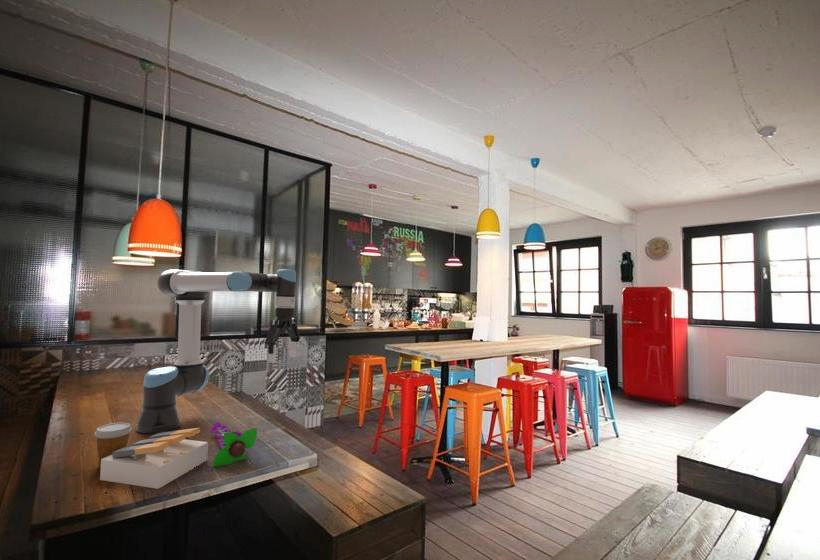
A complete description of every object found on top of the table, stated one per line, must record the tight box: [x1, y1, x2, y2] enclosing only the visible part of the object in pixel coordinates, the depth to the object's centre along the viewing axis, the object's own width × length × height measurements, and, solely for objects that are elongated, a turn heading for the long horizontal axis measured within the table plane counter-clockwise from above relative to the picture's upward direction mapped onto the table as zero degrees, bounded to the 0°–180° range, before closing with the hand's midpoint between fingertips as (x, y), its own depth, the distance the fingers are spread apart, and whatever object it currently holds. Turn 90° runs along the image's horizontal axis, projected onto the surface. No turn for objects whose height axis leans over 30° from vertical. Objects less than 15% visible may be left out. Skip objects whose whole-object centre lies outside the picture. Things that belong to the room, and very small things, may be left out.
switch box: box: [99, 438, 209, 489], centre depth 125 cm, size 20×20×8 cm
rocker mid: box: [130, 434, 186, 447], centre depth 125 cm, size 16×4×2 cm, turn 79°
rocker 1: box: [112, 441, 169, 458], centre depth 119 cm, size 16×4×2 cm, turn 79°
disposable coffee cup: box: [94, 422, 133, 469], centre depth 127 cm, size 10×10×12 cm
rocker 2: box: [148, 427, 201, 439], centre depth 132 cm, size 16×4×2 cm, turn 79°
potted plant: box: [209, 421, 258, 467], centre depth 143 cm, size 12×16×35 cm
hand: (282, 359), depth 162 cm, fingers open, 13 cm apart
